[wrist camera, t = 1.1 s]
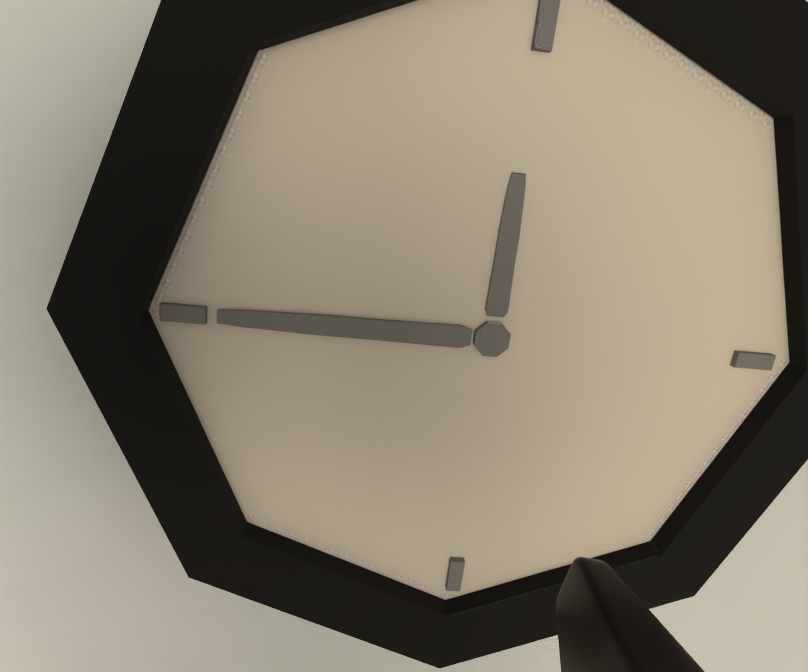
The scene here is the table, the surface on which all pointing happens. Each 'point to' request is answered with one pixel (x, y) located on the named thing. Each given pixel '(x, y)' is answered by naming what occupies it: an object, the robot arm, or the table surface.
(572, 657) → the robot arm
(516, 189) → the wall clock
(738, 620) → the table surface
